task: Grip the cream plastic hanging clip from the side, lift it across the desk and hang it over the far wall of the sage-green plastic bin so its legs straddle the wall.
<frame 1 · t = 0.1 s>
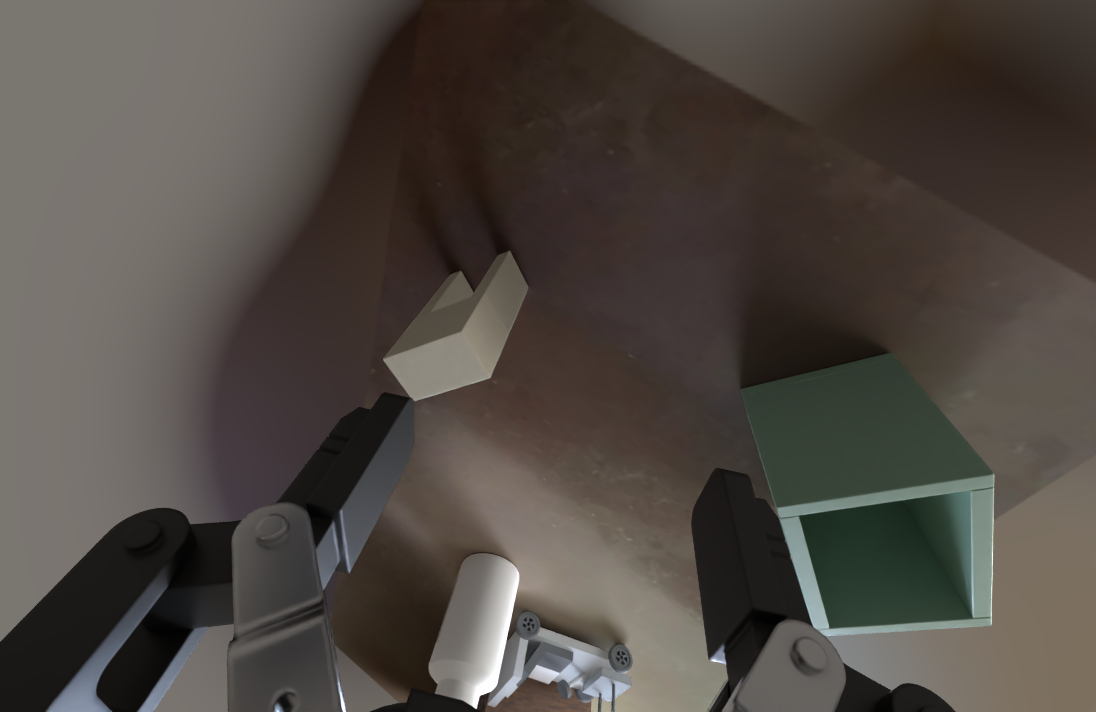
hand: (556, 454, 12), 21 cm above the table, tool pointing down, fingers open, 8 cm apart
tissue box cover: (517, 702, 73), on the table
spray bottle: (491, 568, 54), on the table
toy car: (568, 648, 61), on the table
clip: (489, 281, 33), on the table
bin: (826, 440, 37), on the table
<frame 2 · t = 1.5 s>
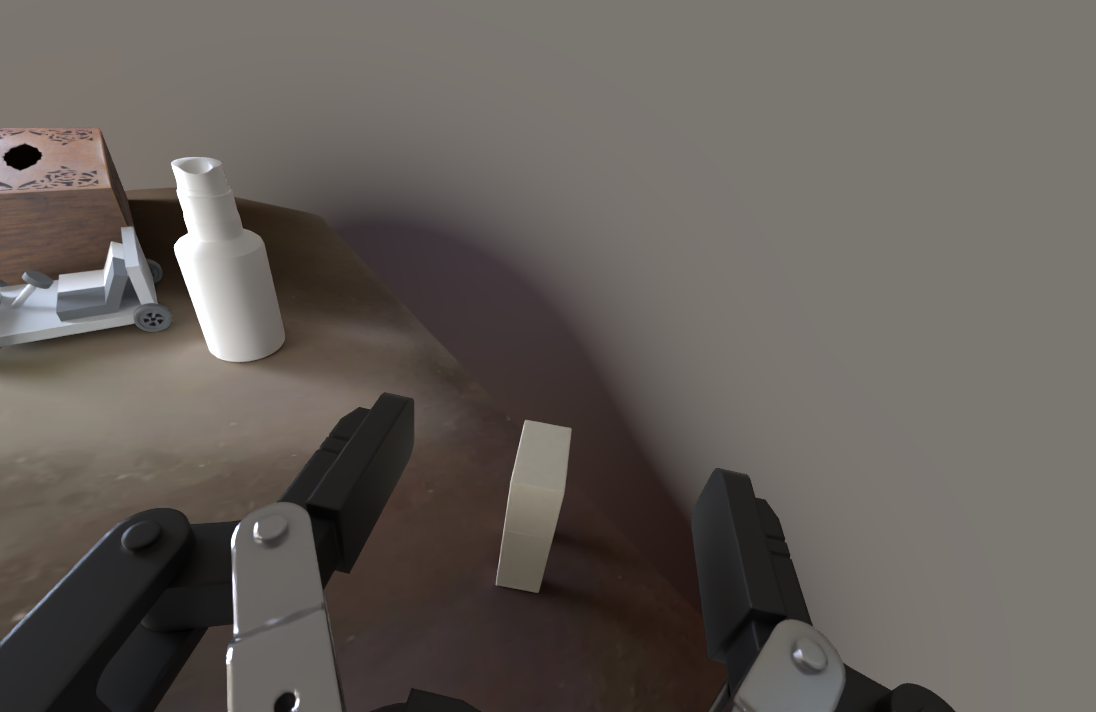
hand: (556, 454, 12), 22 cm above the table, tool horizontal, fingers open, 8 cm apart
tissue box cover: (64, 239, 60), on the table
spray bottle: (249, 345, 49), on the table
toy car: (61, 321, 47), on the table
clip: (522, 555, 34), on the table
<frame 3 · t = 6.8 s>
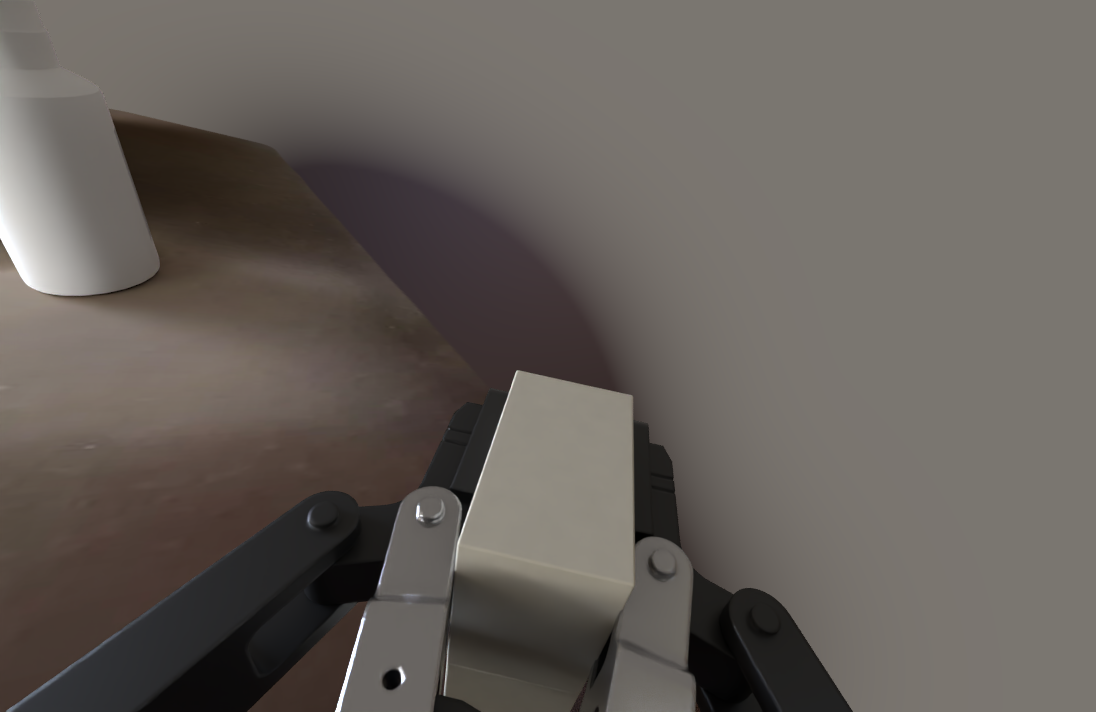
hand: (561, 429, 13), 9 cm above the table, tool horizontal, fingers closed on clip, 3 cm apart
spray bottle: (98, 275, 31), on the table
clip: (504, 675, 16), on the table, touching gripper
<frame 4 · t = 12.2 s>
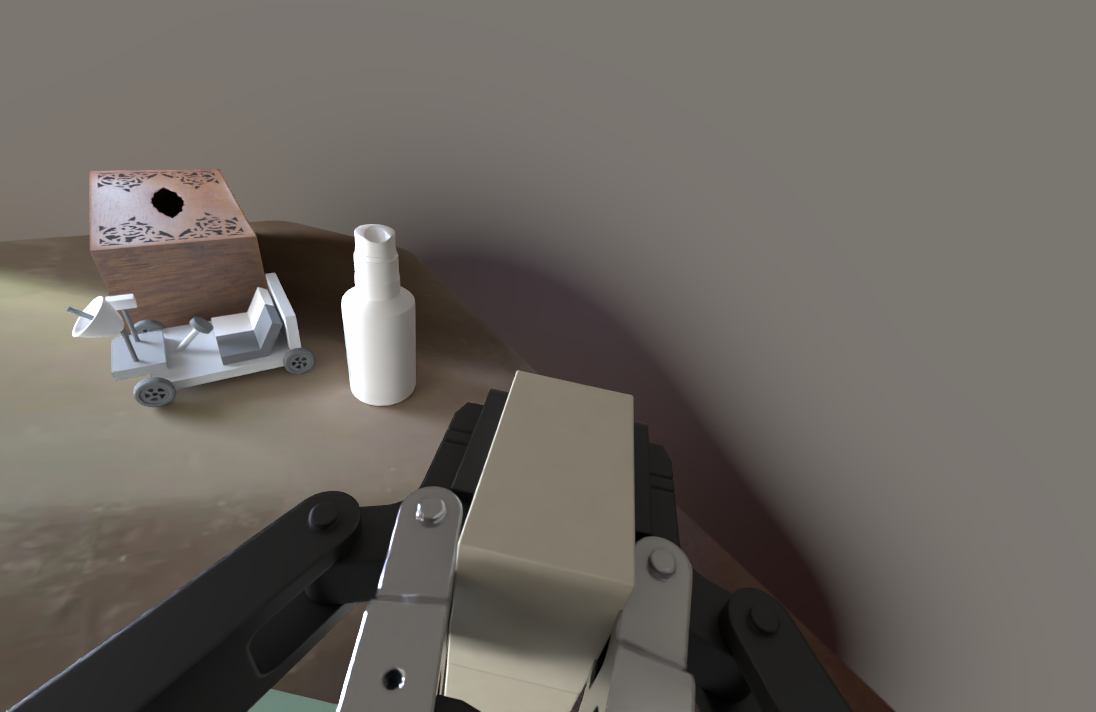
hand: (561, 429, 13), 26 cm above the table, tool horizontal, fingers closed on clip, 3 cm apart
tissue box cover: (190, 275, 64), on the table
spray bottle: (384, 387, 52), on the table
toy car: (214, 362, 51), on the table
clip: (505, 675, 16), point 17 cm above the table, touching gripper
when the fingers open (14 cm above the table, at t = 17.5 s): clip stays where it is, resting on bin.
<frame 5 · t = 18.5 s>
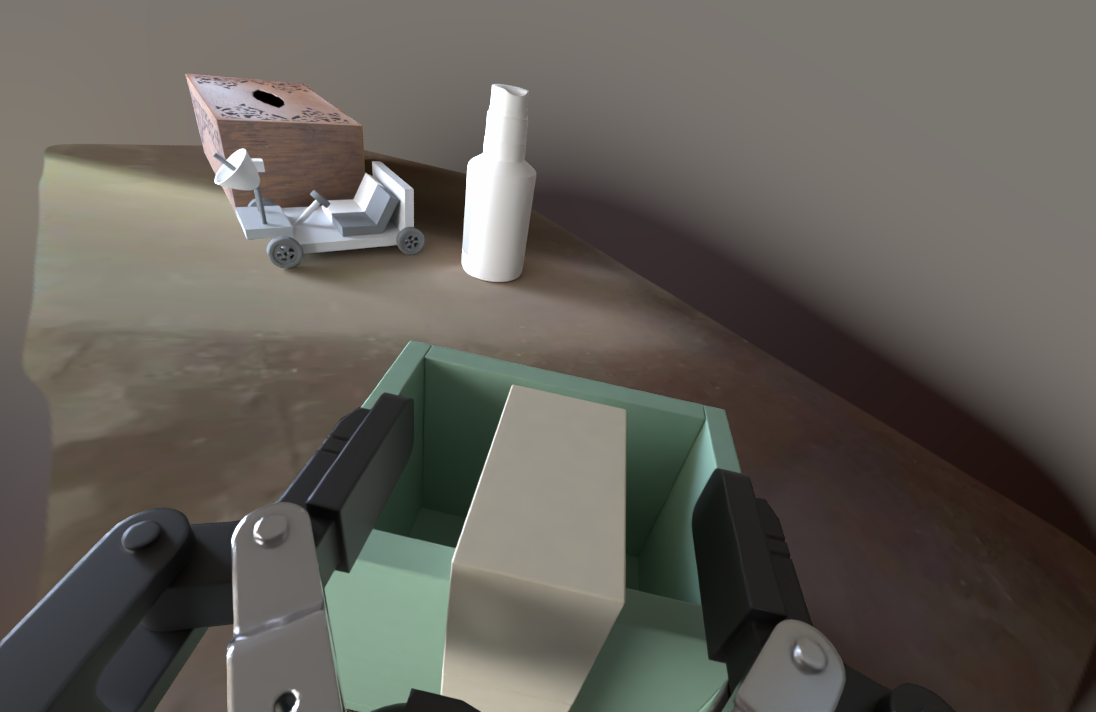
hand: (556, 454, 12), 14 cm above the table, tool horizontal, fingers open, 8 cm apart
tissue box cover: (281, 180, 65), on the table
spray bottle: (491, 270, 53), on the table
toy car: (326, 242, 52), on the table
clip: (501, 682, 16), point 4 cm above the table, touching bin
bin: (512, 614, 22), on the table
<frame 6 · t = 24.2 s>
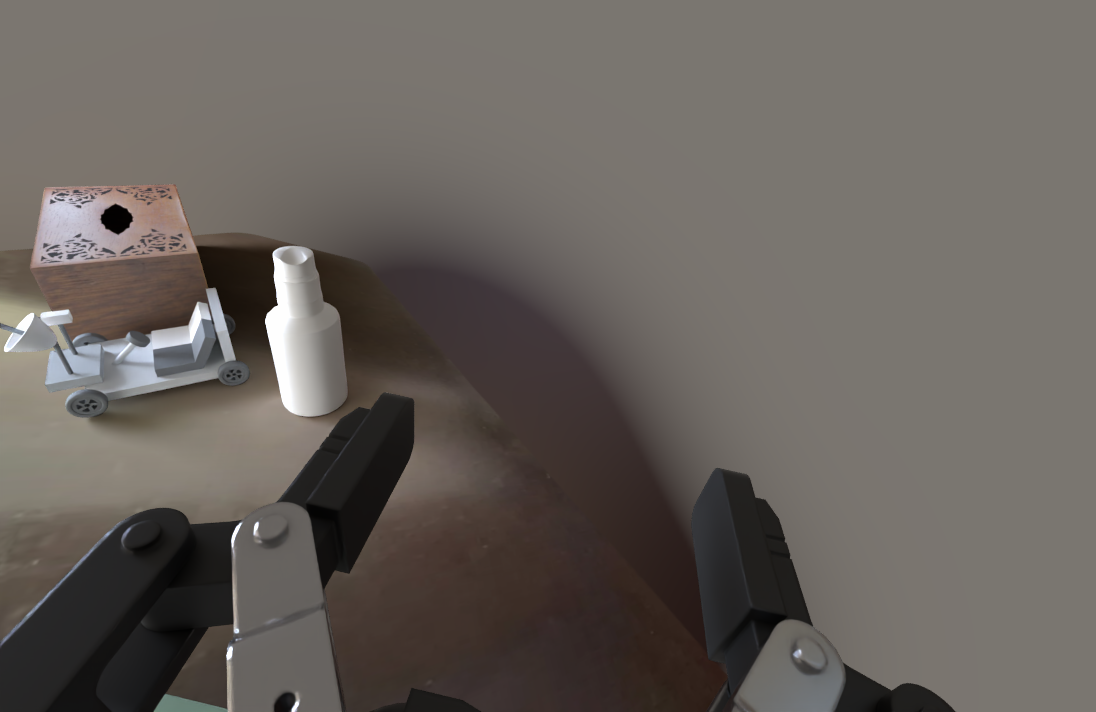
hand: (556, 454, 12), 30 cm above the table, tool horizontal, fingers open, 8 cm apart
tissue box cover: (142, 288, 66), on the table
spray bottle: (316, 399, 54), on the table
toy car: (152, 373, 53), on the table
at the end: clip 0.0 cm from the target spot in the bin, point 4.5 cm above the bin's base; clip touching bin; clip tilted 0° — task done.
